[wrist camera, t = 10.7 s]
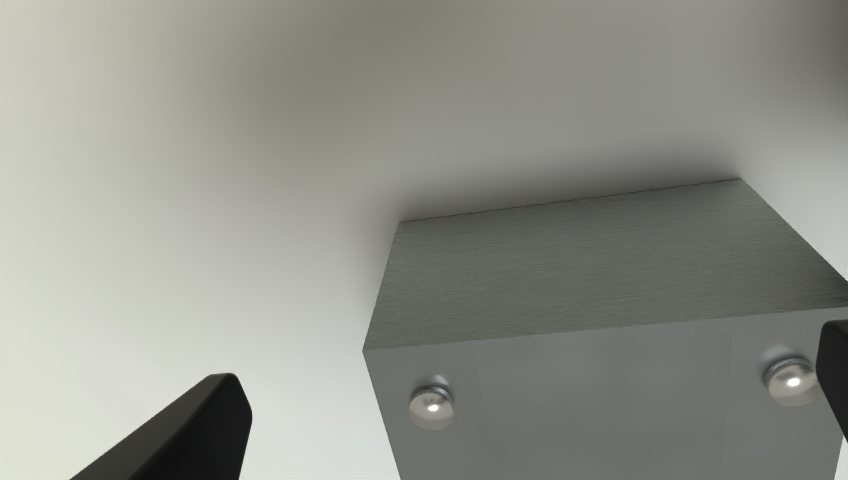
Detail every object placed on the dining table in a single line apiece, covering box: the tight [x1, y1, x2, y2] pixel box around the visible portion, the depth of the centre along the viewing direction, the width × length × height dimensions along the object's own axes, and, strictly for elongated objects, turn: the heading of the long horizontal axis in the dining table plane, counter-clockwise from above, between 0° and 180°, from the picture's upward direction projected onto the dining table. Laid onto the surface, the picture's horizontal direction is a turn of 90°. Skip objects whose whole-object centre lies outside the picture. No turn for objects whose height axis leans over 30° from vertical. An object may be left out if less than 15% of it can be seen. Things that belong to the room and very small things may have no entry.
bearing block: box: [362, 179, 848, 480], centre depth 19 cm, size 10×12×8 cm
